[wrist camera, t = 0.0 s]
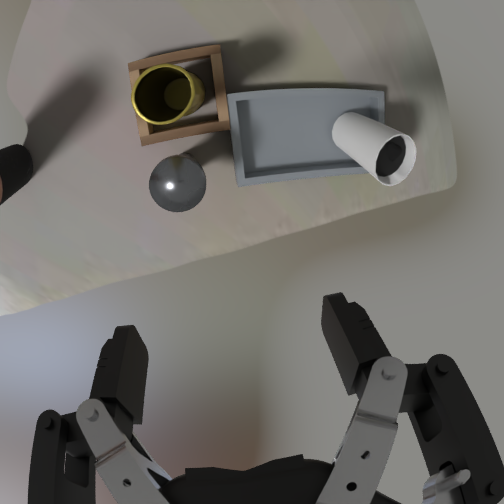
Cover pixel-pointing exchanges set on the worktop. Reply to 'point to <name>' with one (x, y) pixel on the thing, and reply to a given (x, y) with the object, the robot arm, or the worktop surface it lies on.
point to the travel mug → (14, 170)
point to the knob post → (178, 183)
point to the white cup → (375, 147)
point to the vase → (166, 94)
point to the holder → (221, 124)
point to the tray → (294, 132)
